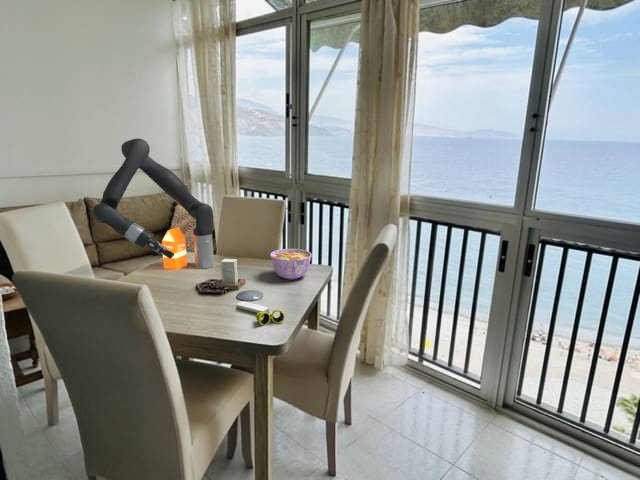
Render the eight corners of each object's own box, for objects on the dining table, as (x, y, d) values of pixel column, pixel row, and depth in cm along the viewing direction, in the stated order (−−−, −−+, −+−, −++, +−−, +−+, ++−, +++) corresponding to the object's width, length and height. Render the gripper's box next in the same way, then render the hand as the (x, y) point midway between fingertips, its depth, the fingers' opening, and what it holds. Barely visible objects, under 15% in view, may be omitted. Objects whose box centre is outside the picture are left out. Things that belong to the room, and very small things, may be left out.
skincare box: (238, 284, 181) (237, 259, 178) (235, 287, 177) (234, 261, 174) (225, 283, 182) (224, 258, 179) (221, 287, 178) (220, 261, 175)
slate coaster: (242, 290, 174) (242, 289, 174) (266, 292, 172) (266, 291, 172) (232, 300, 163) (232, 298, 163) (258, 302, 162) (258, 300, 162)
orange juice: (163, 268, 202) (160, 230, 197) (174, 263, 210) (172, 226, 205) (176, 269, 199) (174, 231, 195) (187, 264, 208) (184, 227, 203)
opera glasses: (281, 319, 149) (280, 306, 148) (285, 322, 144) (284, 309, 143) (255, 323, 145) (254, 310, 144) (259, 327, 140) (258, 313, 140)
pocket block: (222, 281, 185) (222, 277, 184) (245, 283, 183) (245, 279, 182) (214, 288, 176) (214, 283, 176) (238, 290, 174) (237, 285, 174)
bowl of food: (306, 285, 181) (306, 261, 179) (264, 281, 185) (264, 258, 182) (315, 272, 200) (315, 250, 198) (277, 269, 204) (277, 247, 201)
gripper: (142, 228, 161) (177, 249, 165) (146, 228, 175) (178, 248, 179) (130, 243, 160) (166, 264, 164) (136, 242, 174) (168, 262, 178)
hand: (172, 256), depth 172 cm, fingers open, 8 cm apart
